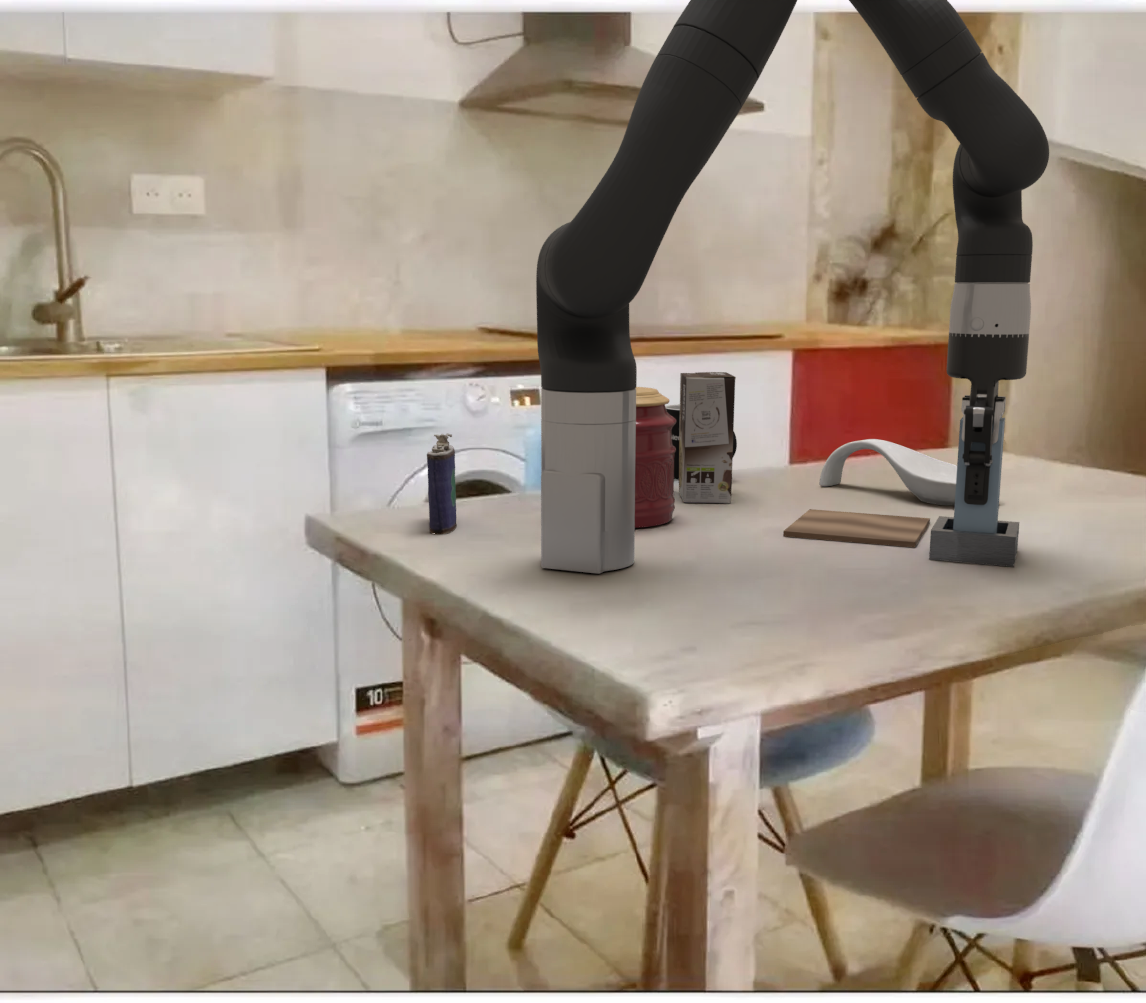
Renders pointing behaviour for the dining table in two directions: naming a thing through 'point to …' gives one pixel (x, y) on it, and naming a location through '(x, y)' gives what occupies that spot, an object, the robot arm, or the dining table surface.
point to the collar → (974, 544)
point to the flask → (441, 486)
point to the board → (859, 528)
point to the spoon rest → (901, 470)
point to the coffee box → (706, 436)
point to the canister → (653, 459)
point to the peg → (987, 515)
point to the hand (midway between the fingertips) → (977, 499)
